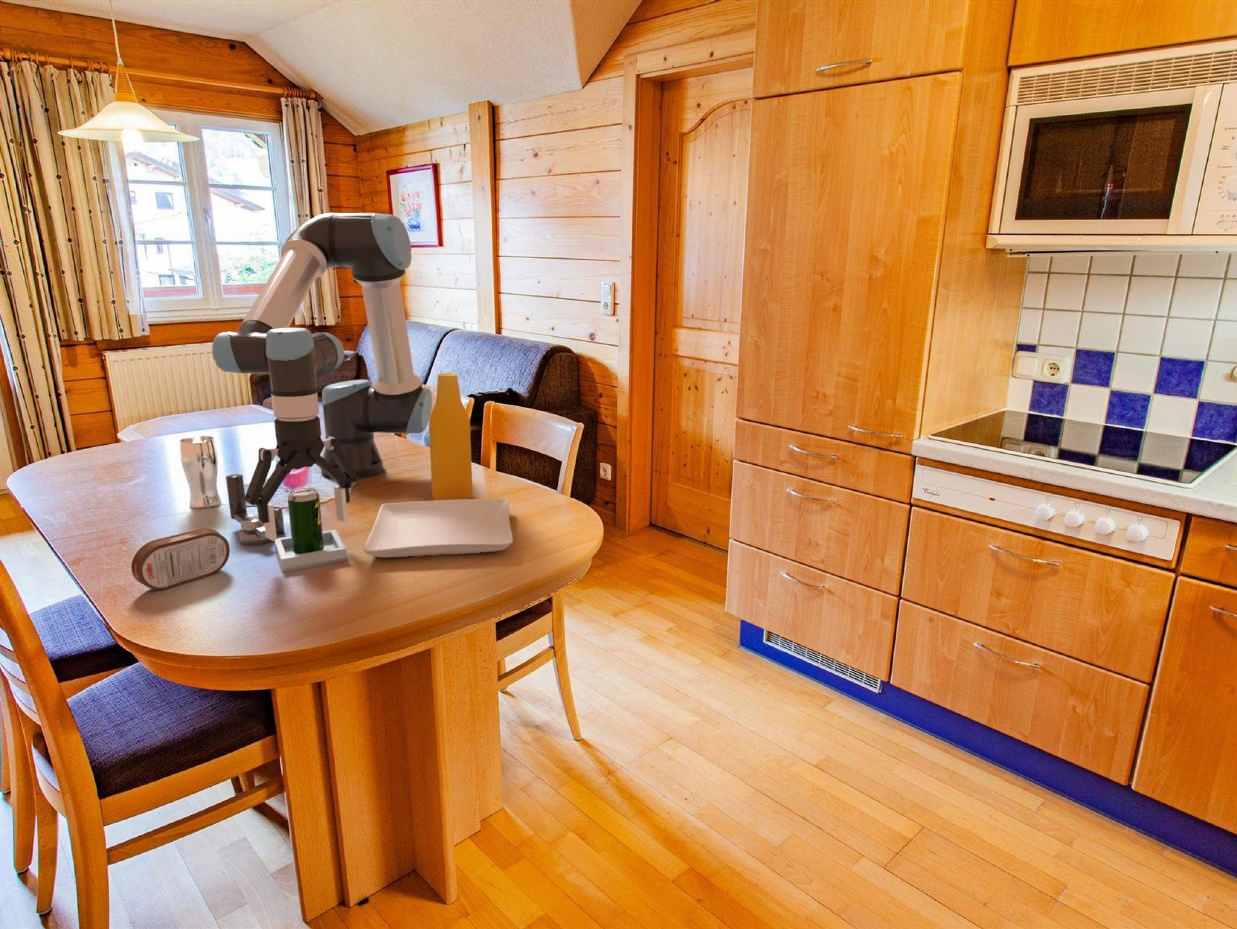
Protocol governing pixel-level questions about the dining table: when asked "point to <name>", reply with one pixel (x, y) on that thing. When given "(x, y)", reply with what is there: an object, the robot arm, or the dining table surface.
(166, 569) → the tin
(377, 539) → the square plate
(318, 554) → the tray
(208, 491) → the beer glass
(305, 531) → the beer can
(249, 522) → the crank
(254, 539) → the base
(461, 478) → the beer bottle
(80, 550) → the dining table surface
